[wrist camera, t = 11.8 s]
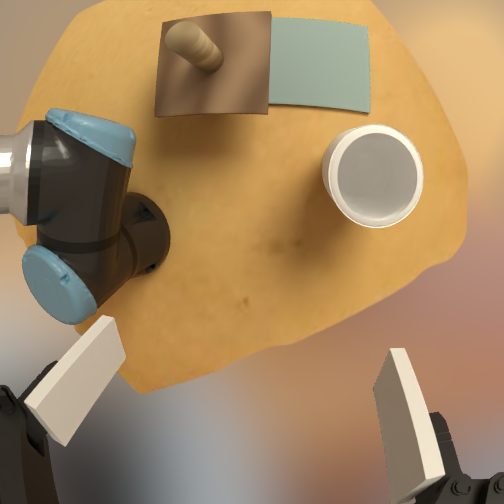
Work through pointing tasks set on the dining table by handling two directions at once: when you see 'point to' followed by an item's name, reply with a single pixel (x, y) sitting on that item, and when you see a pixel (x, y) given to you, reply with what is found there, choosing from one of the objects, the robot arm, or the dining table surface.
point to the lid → (214, 65)
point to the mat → (319, 64)
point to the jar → (373, 175)
